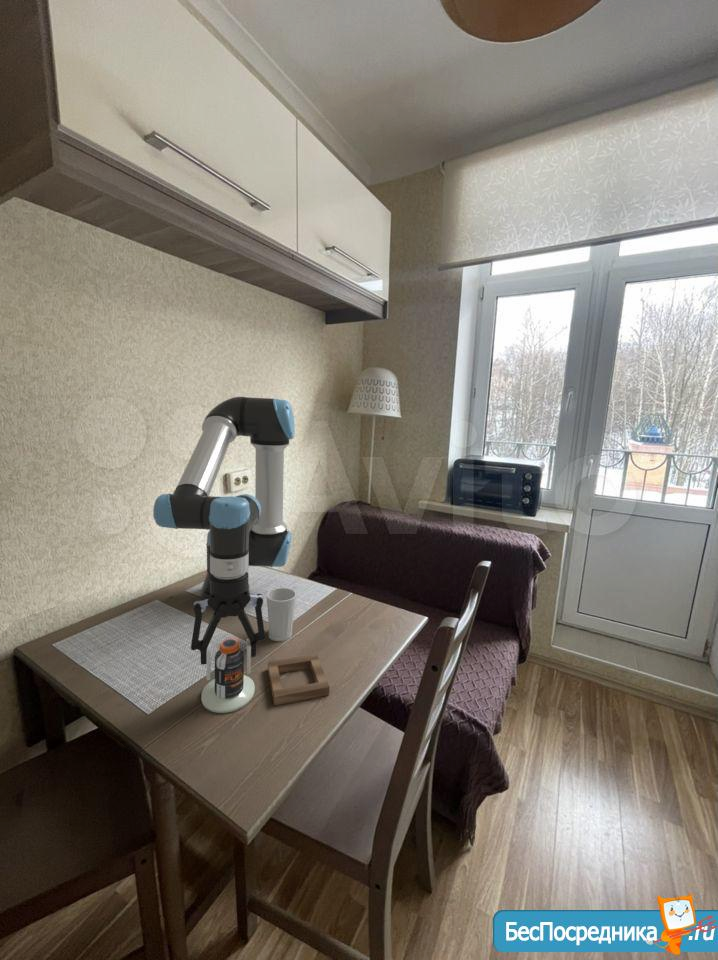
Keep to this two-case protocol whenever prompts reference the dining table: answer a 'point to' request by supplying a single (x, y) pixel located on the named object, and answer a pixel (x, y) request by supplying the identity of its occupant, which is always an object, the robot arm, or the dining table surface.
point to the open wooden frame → (297, 692)
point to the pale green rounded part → (227, 705)
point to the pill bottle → (229, 669)
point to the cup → (280, 613)
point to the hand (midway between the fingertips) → (228, 672)
